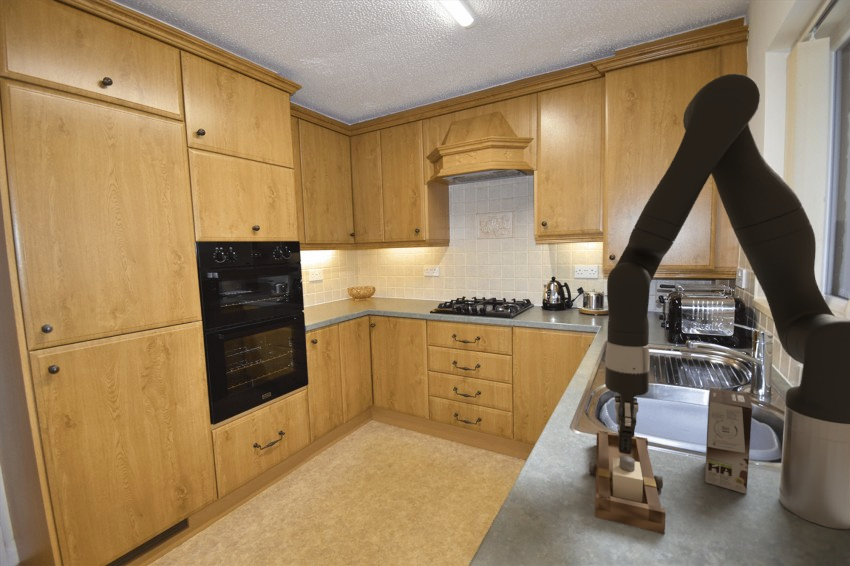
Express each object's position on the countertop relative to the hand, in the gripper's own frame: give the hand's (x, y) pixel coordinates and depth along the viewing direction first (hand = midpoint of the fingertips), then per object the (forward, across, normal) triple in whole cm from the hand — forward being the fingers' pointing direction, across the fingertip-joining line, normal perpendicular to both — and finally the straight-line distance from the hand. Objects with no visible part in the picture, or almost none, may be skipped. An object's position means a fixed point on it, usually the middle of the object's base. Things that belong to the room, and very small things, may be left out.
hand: (624, 451), depth 77 cm
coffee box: (+5, +7, -18) cm, 20 cm away
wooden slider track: (+5, -2, 0) cm, 5 cm away
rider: (+3, -8, 0) cm, 8 cm away
